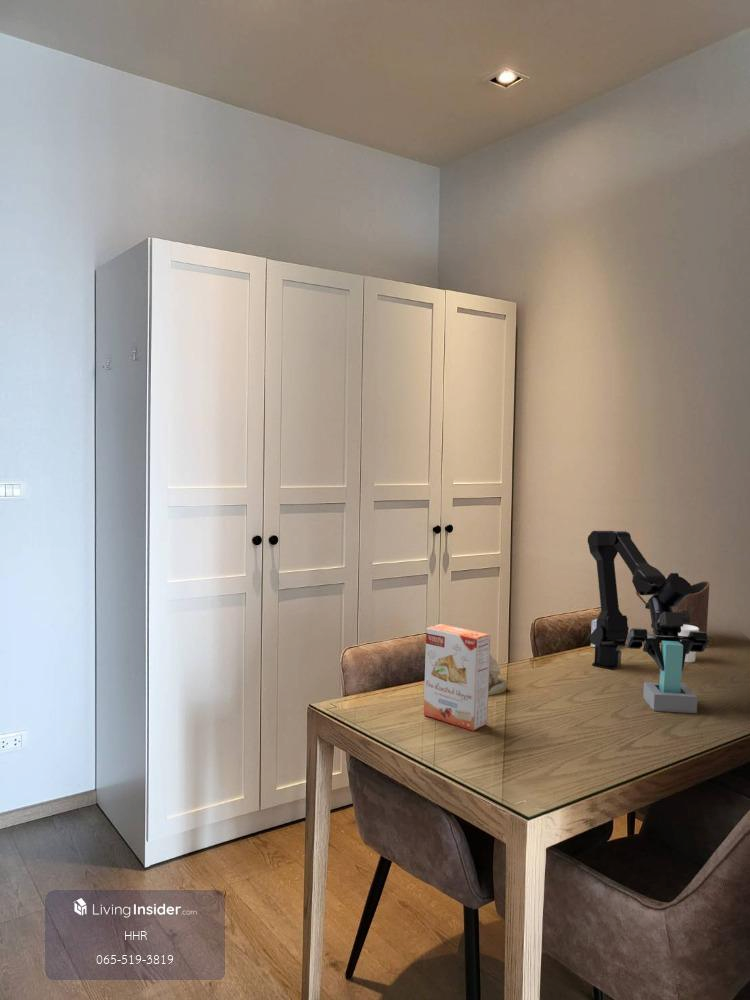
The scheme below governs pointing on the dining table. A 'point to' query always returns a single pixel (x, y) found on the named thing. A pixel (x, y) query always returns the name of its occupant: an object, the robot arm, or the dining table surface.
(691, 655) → the white cup
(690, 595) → the rusty brown pitcher
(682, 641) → the robot arm
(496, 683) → the ceramic model
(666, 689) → the plug
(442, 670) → the cracker box
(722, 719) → the dining table surface
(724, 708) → the dining table surface
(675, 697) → the socket
